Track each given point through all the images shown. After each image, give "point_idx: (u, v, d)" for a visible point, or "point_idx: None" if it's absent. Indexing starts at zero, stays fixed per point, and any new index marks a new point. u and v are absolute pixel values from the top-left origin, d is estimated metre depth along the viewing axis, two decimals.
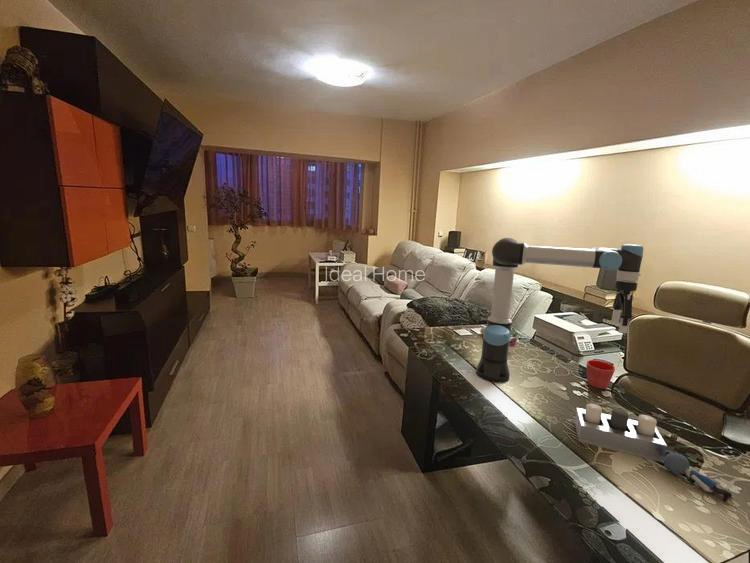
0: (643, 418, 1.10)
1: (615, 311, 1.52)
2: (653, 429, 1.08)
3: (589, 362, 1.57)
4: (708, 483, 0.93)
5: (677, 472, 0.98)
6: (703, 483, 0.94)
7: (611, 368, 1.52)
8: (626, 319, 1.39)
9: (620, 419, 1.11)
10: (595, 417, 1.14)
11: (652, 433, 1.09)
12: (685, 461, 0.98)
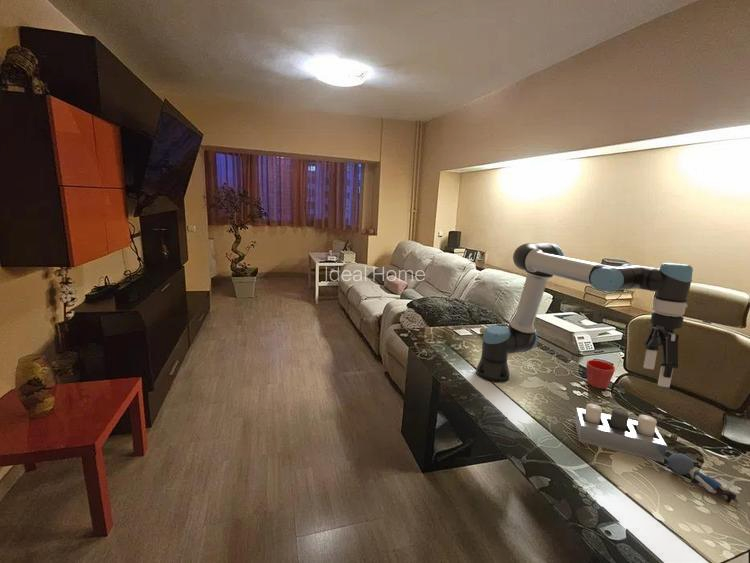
0: (643, 418, 1.10)
1: (649, 352, 1.13)
2: (653, 429, 1.08)
3: (589, 362, 1.57)
4: (712, 484, 0.93)
5: (681, 472, 0.98)
6: (707, 484, 0.94)
7: (611, 368, 1.52)
8: (669, 368, 0.99)
9: (620, 419, 1.11)
10: (595, 417, 1.14)
11: (652, 433, 1.09)
12: (689, 462, 0.98)
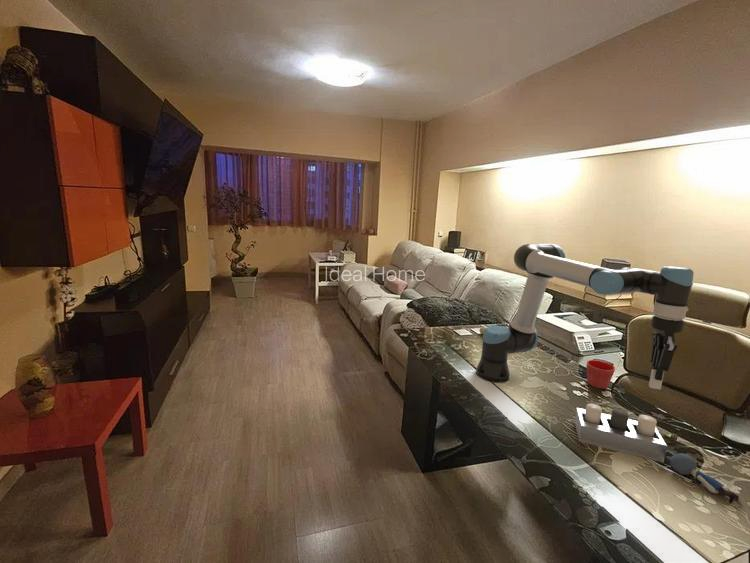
0: (643, 418, 1.10)
1: None
2: (653, 429, 1.08)
3: (589, 362, 1.57)
4: (714, 484, 0.93)
5: (683, 472, 0.98)
6: (709, 484, 0.94)
7: (611, 368, 1.52)
8: (660, 372, 1.05)
9: (620, 419, 1.11)
10: (595, 417, 1.14)
11: (652, 433, 1.09)
12: (692, 462, 0.98)
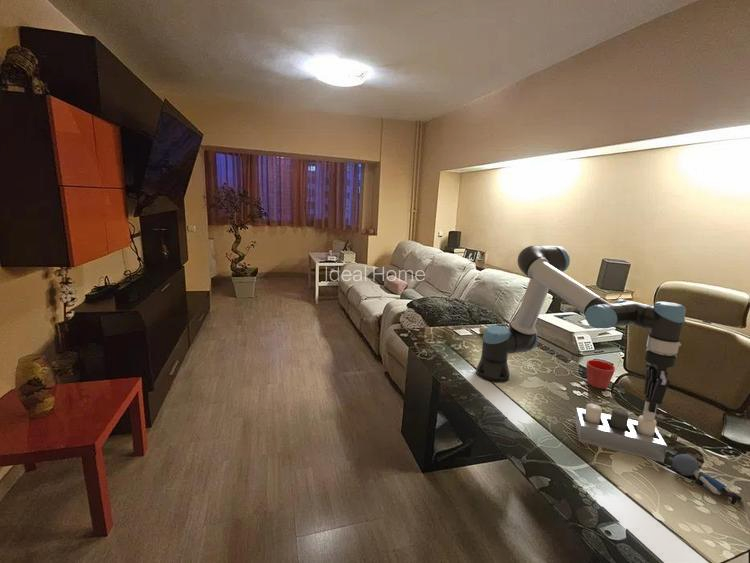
0: (643, 419, 1.10)
1: None
2: (653, 430, 1.08)
3: (589, 362, 1.57)
4: (716, 485, 0.93)
5: (685, 473, 0.98)
6: (711, 485, 0.93)
7: (611, 368, 1.52)
8: (654, 404, 1.07)
9: (620, 419, 1.11)
10: (595, 417, 1.14)
11: (652, 434, 1.09)
12: (694, 463, 0.98)
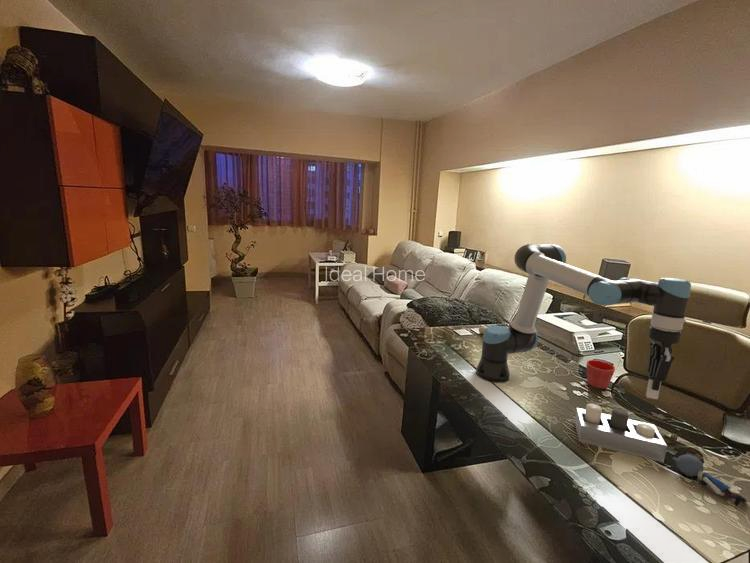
0: (641, 427, 1.11)
1: None
2: None
3: (589, 362, 1.57)
4: (720, 486, 0.92)
5: (689, 473, 0.98)
6: (714, 486, 0.93)
7: (611, 368, 1.52)
8: (657, 382, 1.06)
9: (620, 419, 1.11)
10: (595, 417, 1.14)
11: None
12: (698, 463, 0.98)
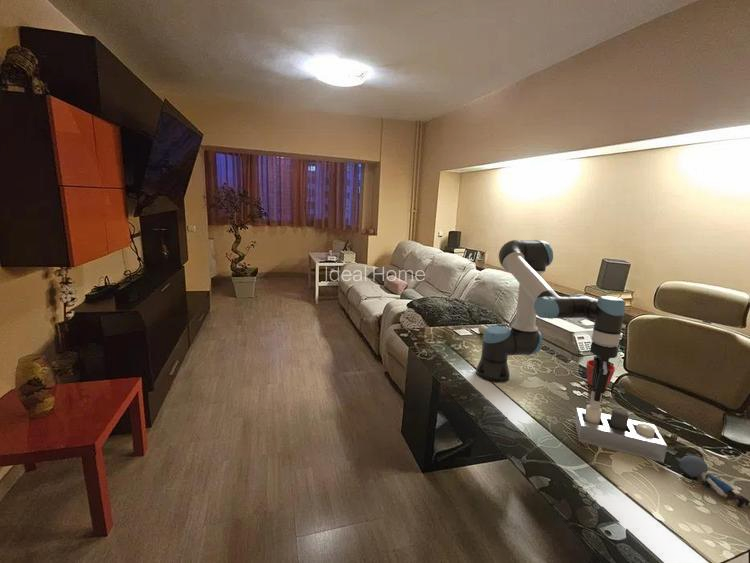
0: (641, 427, 1.11)
1: (594, 391, 1.15)
2: None
3: (589, 362, 1.57)
4: (723, 487, 0.92)
5: (692, 474, 0.98)
6: (718, 487, 0.93)
7: (611, 368, 1.52)
8: (598, 393, 1.13)
9: (620, 419, 1.11)
10: (595, 418, 1.14)
11: None
12: (702, 464, 0.97)
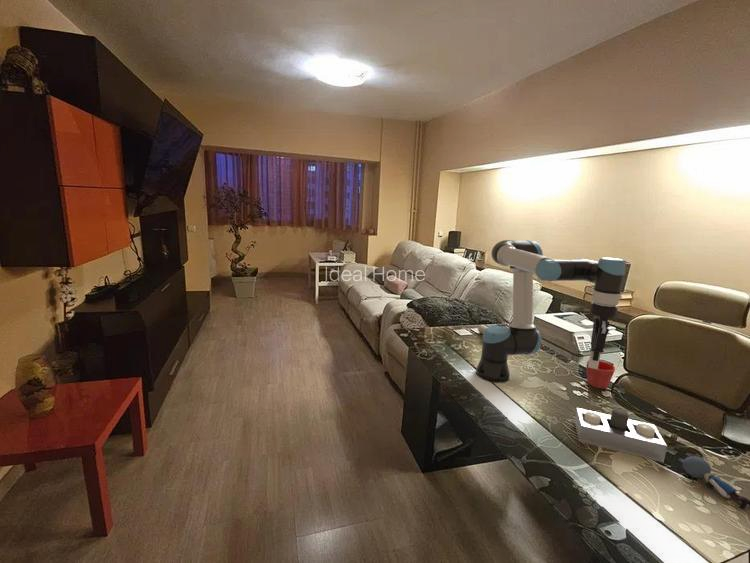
0: (641, 427, 1.11)
1: None
2: None
3: None
4: (726, 488, 0.92)
5: (695, 475, 0.97)
6: (720, 488, 0.92)
7: (611, 368, 1.52)
8: (597, 353, 1.16)
9: (620, 419, 1.11)
10: None
11: None
12: (705, 465, 0.97)
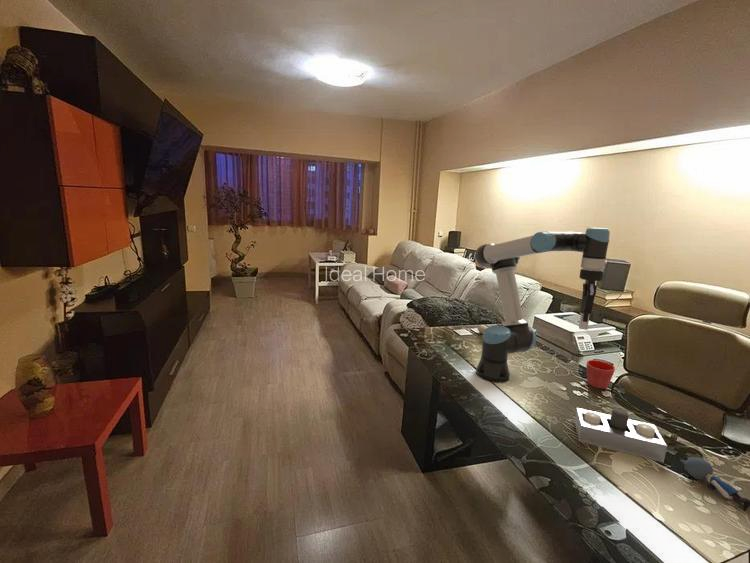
0: (641, 427, 1.11)
1: None
2: None
3: (589, 362, 1.57)
4: (728, 490, 0.91)
5: (697, 476, 0.97)
6: (723, 489, 0.92)
7: (611, 368, 1.52)
8: (586, 314, 1.28)
9: (620, 419, 1.11)
10: None
11: None
12: (707, 466, 0.96)
